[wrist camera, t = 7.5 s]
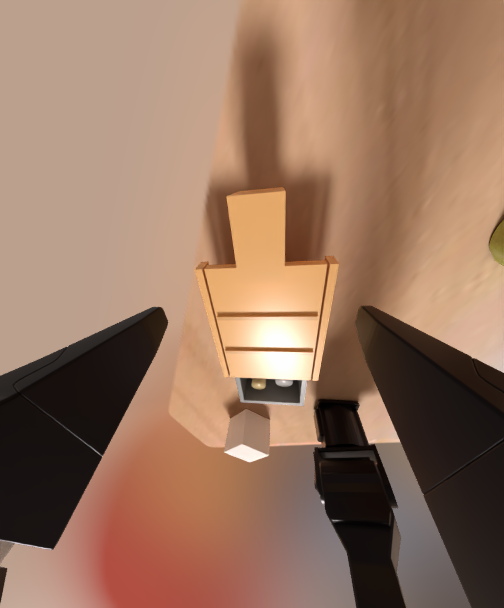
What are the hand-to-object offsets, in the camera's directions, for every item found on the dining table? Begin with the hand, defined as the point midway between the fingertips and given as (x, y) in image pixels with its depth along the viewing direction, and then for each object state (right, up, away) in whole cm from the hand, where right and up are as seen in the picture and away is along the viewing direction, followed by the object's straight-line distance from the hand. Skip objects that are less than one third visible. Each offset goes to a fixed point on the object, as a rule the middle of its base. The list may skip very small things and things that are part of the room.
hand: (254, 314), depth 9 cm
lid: (+1, +1, +9) cm, 9 cm away
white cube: (-1, -23, +31) cm, 38 cm away
